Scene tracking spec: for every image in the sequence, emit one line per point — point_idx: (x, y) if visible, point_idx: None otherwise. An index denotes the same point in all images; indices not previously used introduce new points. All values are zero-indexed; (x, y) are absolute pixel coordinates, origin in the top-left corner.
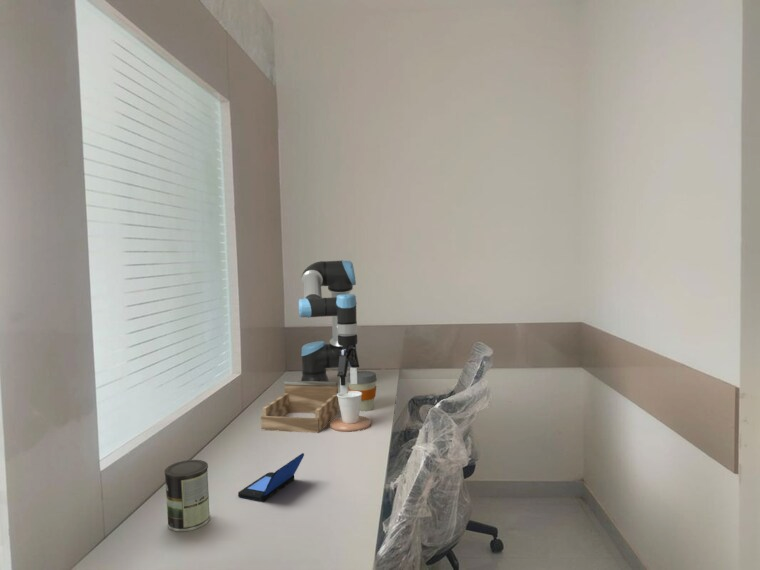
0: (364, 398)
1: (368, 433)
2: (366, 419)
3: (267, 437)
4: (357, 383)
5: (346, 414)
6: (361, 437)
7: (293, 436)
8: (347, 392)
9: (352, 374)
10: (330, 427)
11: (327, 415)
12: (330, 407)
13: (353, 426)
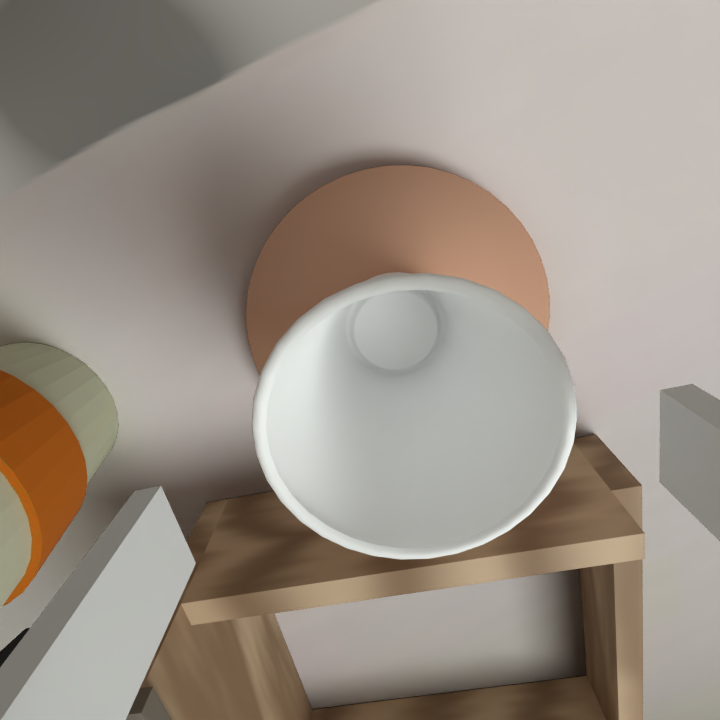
0: (36, 407)
1: (536, 94)
2: (299, 242)
3: (713, 616)
4: (135, 493)
5: (480, 347)
6: (637, 103)
7: (681, 521)
8: (686, 392)
9: (110, 678)
10: None
11: None
12: None
13: (487, 256)
